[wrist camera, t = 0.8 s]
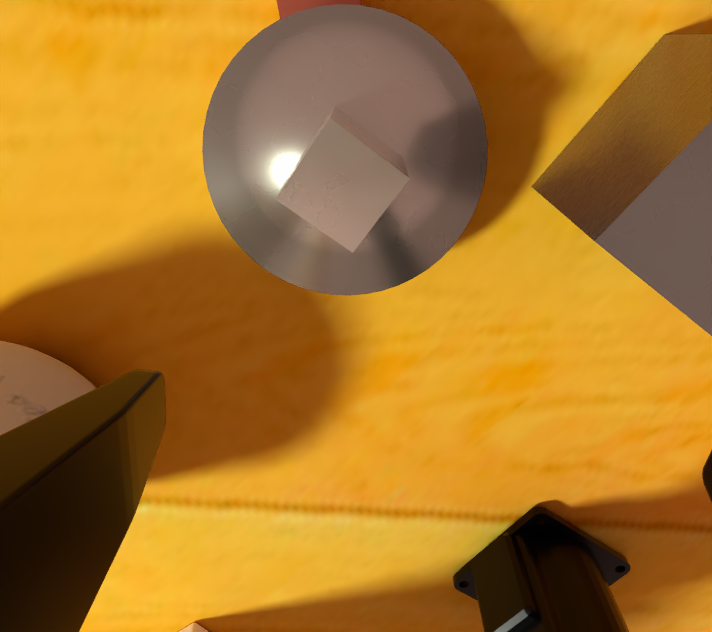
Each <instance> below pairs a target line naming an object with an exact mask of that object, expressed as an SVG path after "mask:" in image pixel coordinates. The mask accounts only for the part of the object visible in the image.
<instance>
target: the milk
mask: <svg viewBox="0 0 712 632" xmlns="http://www.w3.org/2000/svg"><path fill="white" fill-rule="evenodd" d="M178 632H209V631H207V630H206V629H204V628H203V627H201V626H200V625H199V624H197V623H195V622H194V623H192V624H190V625H189V626H187V627H185V628H184V629H182V630H180V631H178Z"/></svg>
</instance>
